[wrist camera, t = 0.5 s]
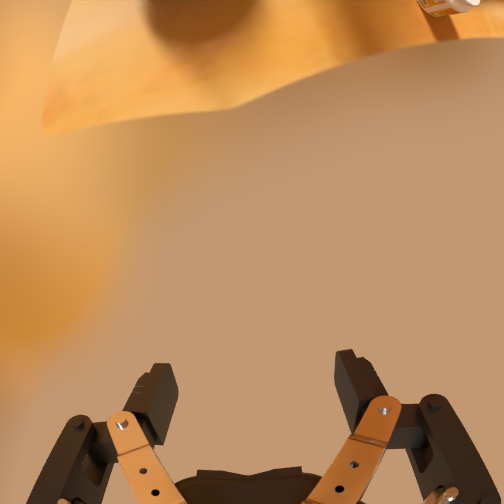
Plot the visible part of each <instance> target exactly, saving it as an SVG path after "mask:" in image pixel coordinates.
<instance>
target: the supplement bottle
mask: <svg viewBox="0 0 504 504" xmlns="http://www.w3.org/2000/svg"><path fill="white" fill-rule="evenodd" d="M417 1H418V3H419V5H420V6H421V7H422V8H423V10H425V11H426V12H427V13H428V14H430V15H432V16H435V17H442V16H447V15H452V14H458V13H464V12H468V11H469V10H470V9H471V7H472V6H477V5H479V3H480V0H417Z"/></svg>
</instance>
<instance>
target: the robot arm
mask: <svg viewBox="0 0 504 504" xmlns="http://www.w3.org/2000/svg"><path fill="white" fill-rule="evenodd" d="M334 380H335V386H336V389H337V393H338V395H339V398H340V401H341V404H342V407H343V410H344V413H345V416H346V419H347V422H348V425H349V428H350V431H351V434H352V435H350V436H349V437H348V439H347V440H346V442H345V444H344V445H343V447H342V448H341V450H340V452H339V453H338V455H337V457H336V458H335V459H334V461H333V463H332V464H331V465H330V467H329V469H328V470H327V471H326V473H325V474H324V476H323V477H322V476H319V475H315V474H311V473H302V469H301V466H299V467H291V468H281V469H273V470H270V471H266V472H262V473H258V474H254V475H249V476H247V475H241V474H236V473H231V472H226V471H213V470H197V475H196V476H194V477H190V478H186V479H183V480H181V481H179V482H177V483H175V484H174V482H173V481H172V479H171V478H170V476H169V475H168V473H167V472H166V470H165V469H164V467H163V465H162V464H161V462H160V460H159V459H158V457H157V455H156V454H155V452H154V450H153V449H154V446H155V445H163V444H164V441H165V438H166V435H167V431H168V428H169V424H170V422H171V418H172V415H173V412H174V408H175V405H176V402H177V399H178V386H177V383H176V380H175V377H174V374H173V371H172V368H171V365H170V364H169V363H155V364H154V365H153V367H152V369H151V371H150V373H145V374H144V375H142V376H141V377H140V378H139V379H138V381H137V383H136V385H135V387H134V389H133V391H132V393H131V395H130V397H129V399H128V401H127V403H126V405H125V407H124V409H123V411H120V412H117V413H114V414H113V415H112V416H110V417H109V419H108V421H106V422H96V423H92V421H91V420H90V418H89V417H87V416H85V415H77V416H74V417H72V418H71V419H69V421H68V422H67V423H66V425H65V427H64V429H63V431H62V433H61V434H60V436H59V438H58V440H57V442H56V444H55V446H54V447H53V449H52V451H51V453H50V455H49V457H48V459H47V461H46V463H45V465H44V467H43V469H42V471H41V473H40V475H39V477H38V479H37V481H36V483H35V485H34V487H33V489H32V492H31V494H30V496H29V499H28V501H27V503H26V504H101V503H102V500H103V497H104V493H105V490H106V487H107V484H108V481H109V478H110V474H111V472H112V468H113V465H114V463H118V462H119V463H120V466H121V468H122V470H123V472H124V475H125V477H126V479H127V481H128V483H129V485H130V487H131V489H132V491H133V493H134V495H135V497H136V499H137V501H138V503H139V504H365V503H364V502H362V501H360V500H361V498H362V497H363V495H364V493H365V491H366V489H367V488H368V485H369V484H370V482H371V480H372V478H373V476H374V474H375V472H376V470H377V468H378V466H379V464H380V462H381V460H382V458H383V455H384V453H385V451H386V449H404V448H405V449H406V452H407V454H408V457H409V460H410V463H411V465H412V468H413V471H414V474H415V477H416V479H417V482H418V485H419V488H420V491H421V494H422V497H423V501H424V502H423V503H422V504H501V498H500V495H499V493H498V491H497V488H496V487H495V484H494V482H493V480H492V478H491V476H490V474H489V472H488V470H487V468H486V466H485V464H484V462H483V461H482V459H481V457H480V455H479V453H478V451H477V449H476V447H475V446H474V444H473V442H472V440H471V438H470V437H469V435H468V433H467V432H466V430H465V428H464V426H463V425H462V423H461V421H460V420H459V418H458V416H457V415H456V413H455V411H454V410H453V408H452V407H451V405H450V403H449V402H448V400H447V399H446V398H445V397H444V396H441V395H439V394H429V395H427V396H425V397H423V398H422V400H421V401H420V404H401V403H400V402H399V400H397V399H396V398H394V397H392V396H389V395H388V393H387V391H386V390H385V388H384V386H383V384H382V383H381V381H380V379H379V377H378V376H377V374H376V371H374V368H373V366H372V364H371V363H370V362H369V361H368V360H366V359H365V358H364V357H361V358H356V356H355V354H354V352H353V350H352V349H348V350H342V351H337V352H336V357H335V372H334ZM83 461H84V462H83Z"/></svg>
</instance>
